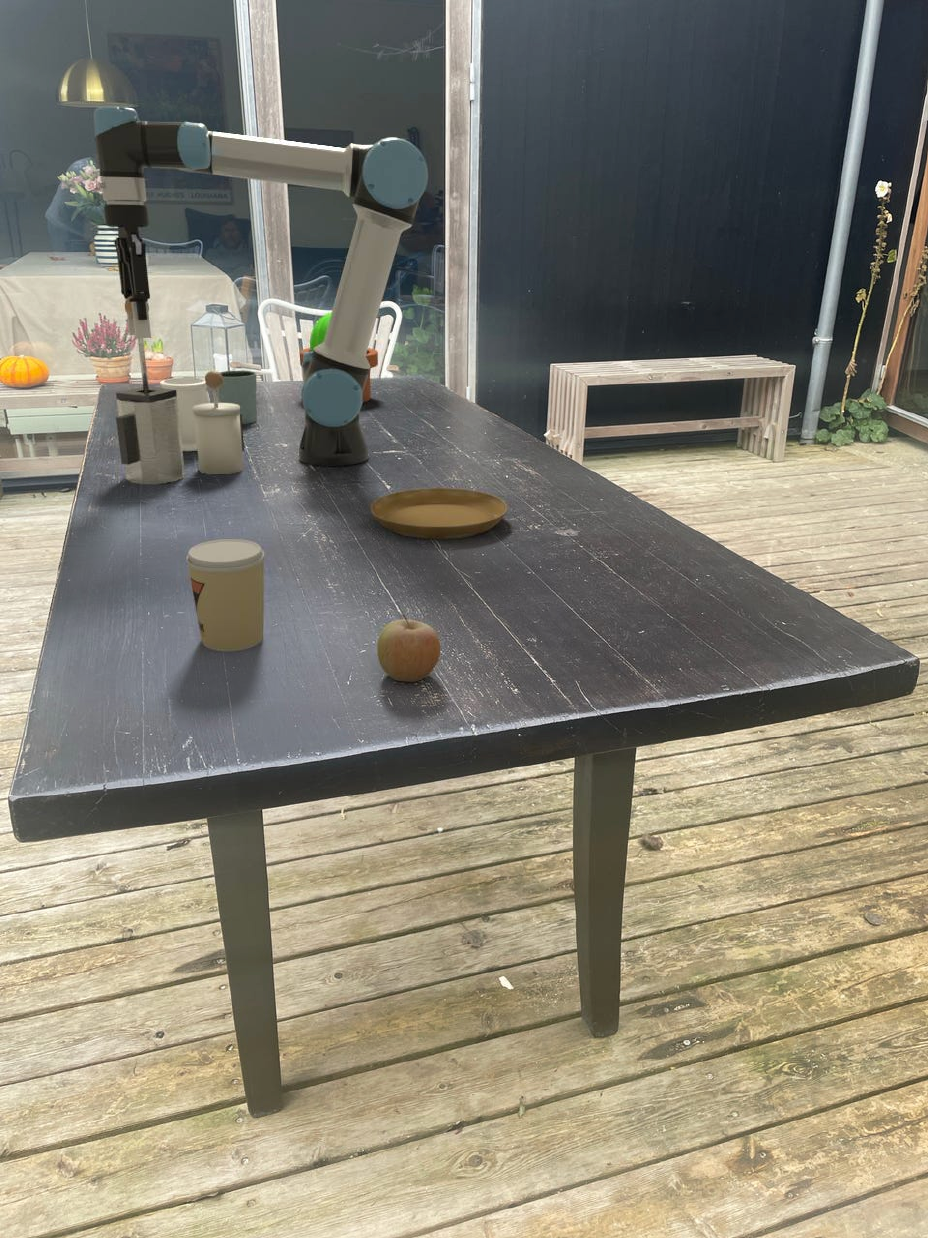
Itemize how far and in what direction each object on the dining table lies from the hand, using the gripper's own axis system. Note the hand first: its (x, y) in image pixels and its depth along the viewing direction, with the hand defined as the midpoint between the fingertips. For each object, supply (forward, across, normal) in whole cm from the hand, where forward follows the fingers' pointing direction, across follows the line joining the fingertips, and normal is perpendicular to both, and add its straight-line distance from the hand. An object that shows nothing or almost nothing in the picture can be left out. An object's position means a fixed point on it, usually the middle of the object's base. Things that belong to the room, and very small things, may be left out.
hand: (140, 335), depth 183 cm
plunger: (+13, 0, 0) cm, 13 cm away
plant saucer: (+28, +53, +36) cm, 70 cm away
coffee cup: (+28, +84, -12) cm, 89 cm away
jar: (+28, -22, +14) cm, 38 cm away
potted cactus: (+28, -62, +68) cm, 97 cm away
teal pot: (+28, -46, +33) cm, 63 cm away
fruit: (+28, +104, +3) cm, 108 cm away
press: (+28, +1, -1) cm, 28 cm away
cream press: (+28, -1, +15) cm, 31 cm away
